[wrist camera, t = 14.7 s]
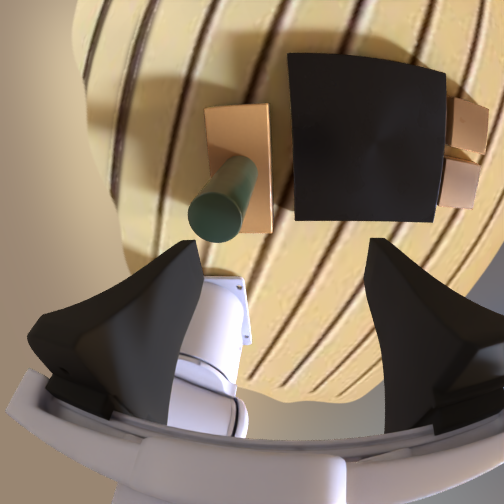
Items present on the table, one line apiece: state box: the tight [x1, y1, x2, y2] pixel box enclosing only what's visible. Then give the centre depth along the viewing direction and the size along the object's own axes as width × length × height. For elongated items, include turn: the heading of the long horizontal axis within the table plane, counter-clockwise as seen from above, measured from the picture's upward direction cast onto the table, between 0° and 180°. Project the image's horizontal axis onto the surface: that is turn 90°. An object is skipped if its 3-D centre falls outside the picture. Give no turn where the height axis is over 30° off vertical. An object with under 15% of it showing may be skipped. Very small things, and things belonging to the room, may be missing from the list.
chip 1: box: [445, 96, 489, 155], centre depth 14 cm, size 4×4×1 cm
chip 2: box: [437, 156, 481, 210], centre depth 17 cm, size 4×4×1 cm
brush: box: [188, 103, 274, 243], centre depth 15 cm, size 9×4×10 cm, turn 3°
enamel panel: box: [287, 53, 447, 223], centre depth 16 cm, size 12×12×2 cm
